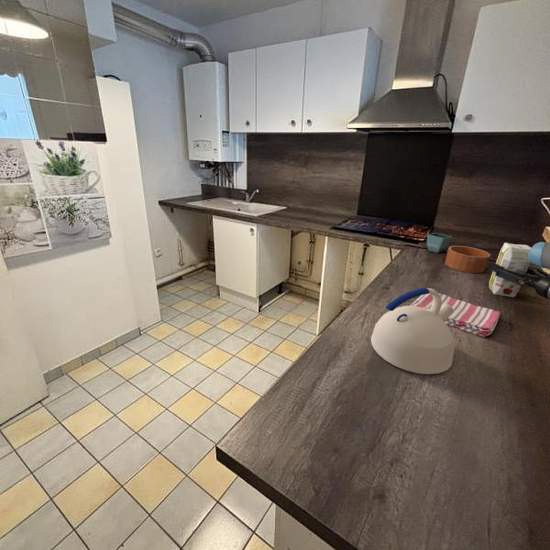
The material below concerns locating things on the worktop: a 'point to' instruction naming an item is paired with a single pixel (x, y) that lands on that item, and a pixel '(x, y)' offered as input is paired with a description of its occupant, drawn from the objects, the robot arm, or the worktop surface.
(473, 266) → the pot
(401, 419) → the worktop surface
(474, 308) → the dish towel
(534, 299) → the worktop surface
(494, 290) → the juice carton
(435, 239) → the flower pot
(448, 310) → the kettle
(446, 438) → the worktop surface
